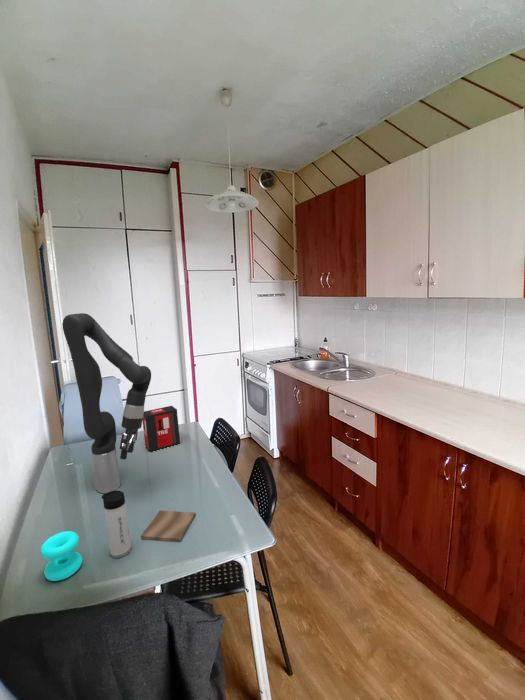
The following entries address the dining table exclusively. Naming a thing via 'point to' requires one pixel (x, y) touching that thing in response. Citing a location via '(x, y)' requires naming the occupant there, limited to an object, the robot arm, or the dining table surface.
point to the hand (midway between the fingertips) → (126, 455)
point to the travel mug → (116, 523)
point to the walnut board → (168, 526)
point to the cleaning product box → (161, 428)
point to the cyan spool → (61, 555)
